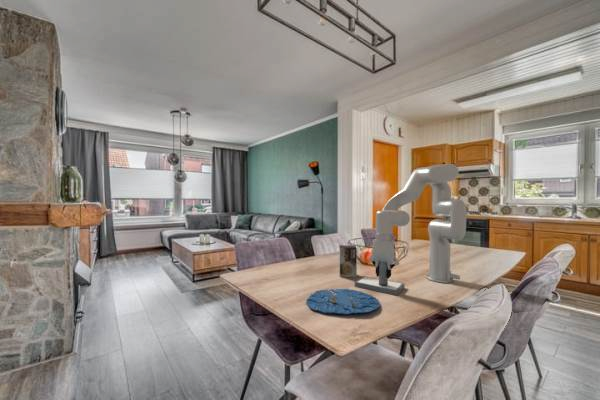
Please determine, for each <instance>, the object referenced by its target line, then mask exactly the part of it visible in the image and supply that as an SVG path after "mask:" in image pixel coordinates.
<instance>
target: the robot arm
mask: <svg viewBox="0 0 600 400" xmlns="http://www.w3.org/2000/svg"><path fill="white" fill-rule="evenodd" d="M459 174H460V173H459V168H458V166H457V165H455V164H453V163H445V164H435V165H430V166H423V167H418V168H415V169H414V170H413V171H412V172H411V175H410V176H409V178H408V179H407V181H406V183H405V184H404V186H403V187H402V189H401V190H400V191H399V192H397V193H396V194H395V195H394V196H392V197H391V198H390V199H389V200H388V201H387V202H386V203H385V205H384V207H383V208H382V210H377V211H376V212H375V238H374V239H373V242H372V243H373V244H372V248H371V249H372V251H371V255H370V256H369V258H368V261H369V262H370V263H371V264H372V265H373V266H374V268H375V275H376V278H377V277H378V278H379V262H382V261H383V262H385V263H387V266H388V269H387V278H388V279H390V278H391V276H392V269H393V268H394V267H396V266H398V265H400V261H399V259H398V258H397V248H396V243H395V240H394V239H396V238H397V236H396V235H394V234H393V232H394V231H393V228H394V226H395V227H405V226H407V225H408V224H409V223H410V221H411V220H410V219H411V218H410V214H409V213H408V212H406V211H405V210H401V207H403V206H405V205H407V204H410V203H413V202H416V201H417V200H418V199H419V198H420V196H421V195H422V193H423V191H424V189H425V187H426V186H427V185H430V187H431V188H432V201H431V202H432V203H431V205H432V206H431V210H432V214H433V215H434V216H437V217H441V219H440V218H437V219H436V218H435V219H433V220H430V222H428V225H427V231H428V237H429V273H427V274H426V275H425V277H426V279H427V280H430V281H432V282H436V283H444V284H446V283H447V284H448V283H449V284H450V283H453V282H454V279H455V280H461V275H458V274H456V273H455V274H453V273H452V271H451V244H450V241H449V240H453V241H461V240H463V238H464V237H465V235H466V231H467V210H468V209H467V205H466V203H465V202H464V200H462V199H459V198H452V188H451V186H450V185H449V183H450V182H453V181H455V180H456V179H457V178H458V177H459ZM448 182H449V183H448ZM442 218H450V219H442Z"/></svg>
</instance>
